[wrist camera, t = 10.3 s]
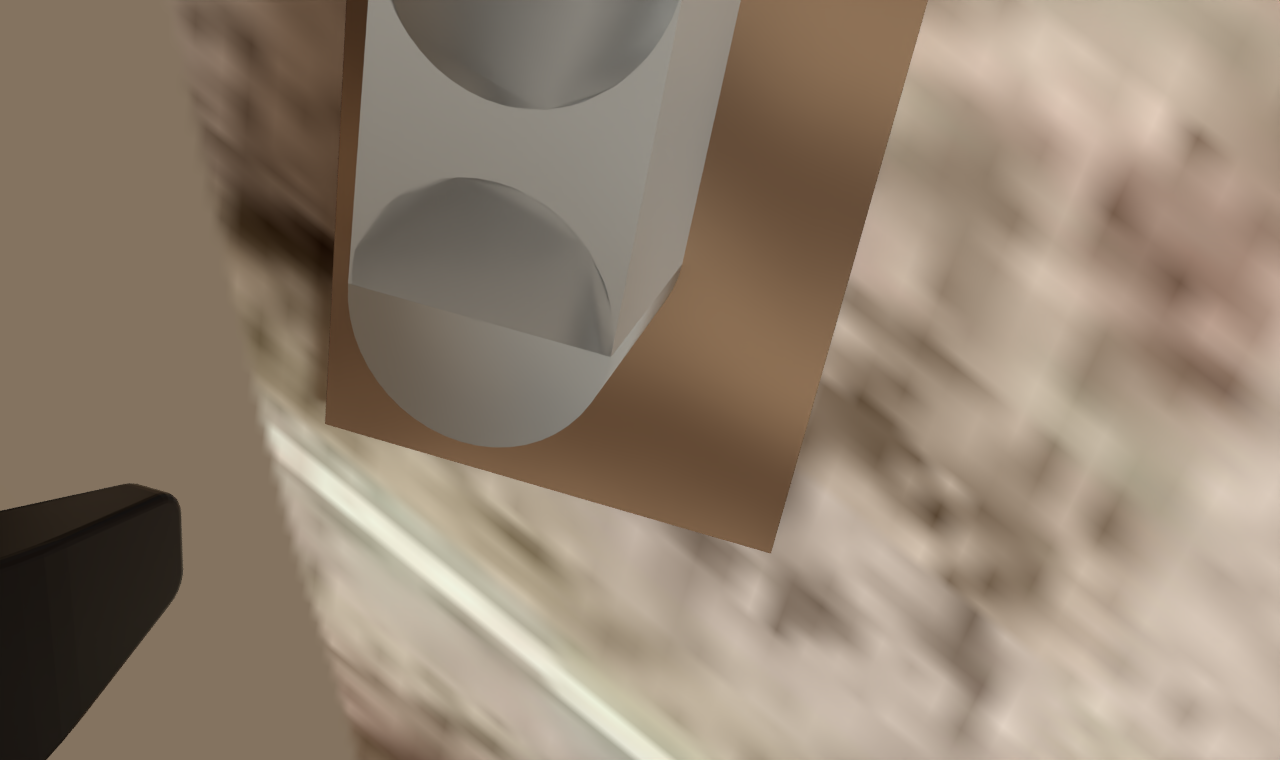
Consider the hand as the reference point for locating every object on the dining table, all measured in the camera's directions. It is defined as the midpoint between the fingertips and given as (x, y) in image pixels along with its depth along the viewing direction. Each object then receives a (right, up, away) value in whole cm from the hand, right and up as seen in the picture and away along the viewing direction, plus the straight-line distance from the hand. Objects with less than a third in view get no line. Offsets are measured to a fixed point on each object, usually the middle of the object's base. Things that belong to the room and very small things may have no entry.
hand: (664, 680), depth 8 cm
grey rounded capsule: (-1, +8, +9) cm, 12 cm away
